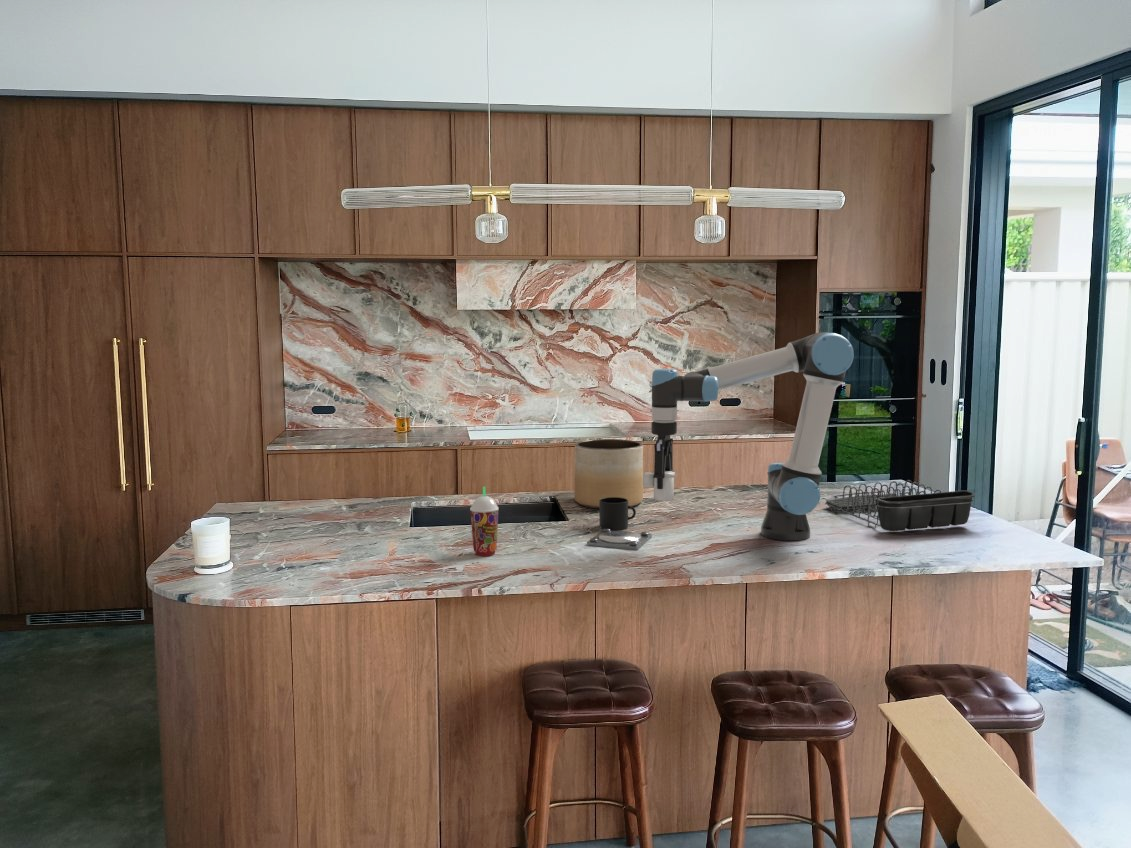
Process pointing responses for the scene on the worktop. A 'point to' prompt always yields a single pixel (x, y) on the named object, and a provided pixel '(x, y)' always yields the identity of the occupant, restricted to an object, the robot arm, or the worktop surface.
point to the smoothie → (484, 525)
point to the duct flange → (619, 539)
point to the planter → (608, 471)
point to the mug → (614, 513)
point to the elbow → (669, 484)
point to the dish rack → (907, 507)
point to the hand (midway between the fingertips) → (663, 496)
